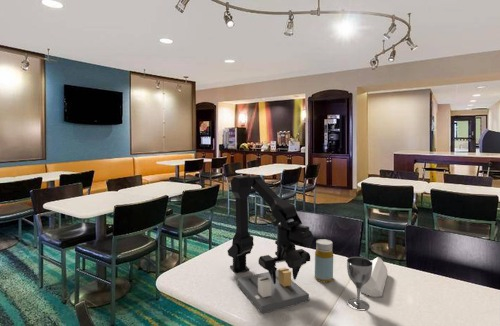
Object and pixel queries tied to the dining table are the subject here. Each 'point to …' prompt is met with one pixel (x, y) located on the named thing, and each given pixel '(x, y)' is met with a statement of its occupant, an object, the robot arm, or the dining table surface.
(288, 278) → the block
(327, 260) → the bottle
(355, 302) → the wine glass
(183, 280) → the dining table surface
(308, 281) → the dining table surface
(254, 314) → the dining table surface
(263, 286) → the fader
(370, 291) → the crystal
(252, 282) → the console
